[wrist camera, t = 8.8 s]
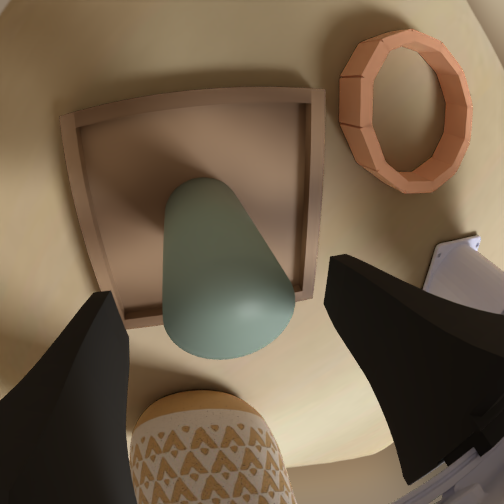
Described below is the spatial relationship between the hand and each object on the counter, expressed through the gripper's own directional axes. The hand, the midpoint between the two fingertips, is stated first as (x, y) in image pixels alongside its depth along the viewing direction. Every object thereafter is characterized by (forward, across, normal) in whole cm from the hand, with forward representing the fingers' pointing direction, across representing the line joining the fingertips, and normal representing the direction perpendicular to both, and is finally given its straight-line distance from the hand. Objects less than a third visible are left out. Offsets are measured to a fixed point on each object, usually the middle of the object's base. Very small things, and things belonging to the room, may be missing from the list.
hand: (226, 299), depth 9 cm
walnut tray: (+8, 0, 0) cm, 8 cm away
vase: (+8, +4, +21) cm, 23 cm away
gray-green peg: (+7, 0, 0) cm, 7 cm away
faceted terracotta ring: (+8, -13, -6) cm, 17 cm away
